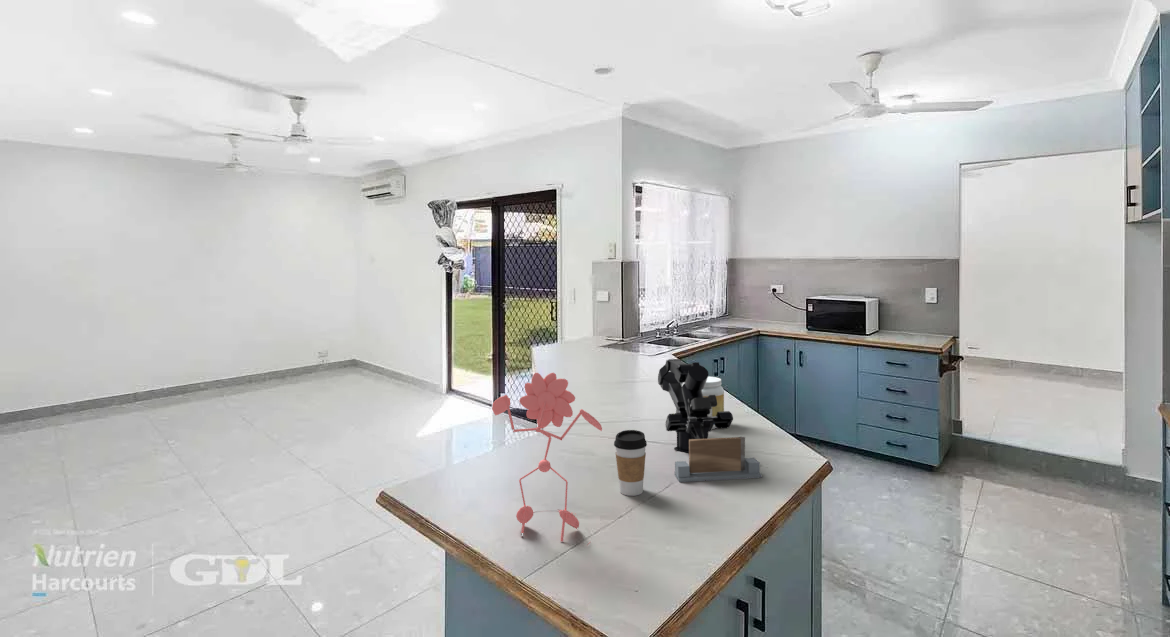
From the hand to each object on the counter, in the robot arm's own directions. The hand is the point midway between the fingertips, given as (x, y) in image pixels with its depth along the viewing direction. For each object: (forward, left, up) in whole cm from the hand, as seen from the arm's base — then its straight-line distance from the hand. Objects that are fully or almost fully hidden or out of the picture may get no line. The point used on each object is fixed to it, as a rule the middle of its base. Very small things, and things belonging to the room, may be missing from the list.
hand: (704, 448), depth 152 cm
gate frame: (+5, -2, -7) cm, 8 cm away
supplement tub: (-21, +40, -7) cm, 46 cm away
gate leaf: (+5, -2, -5) cm, 7 cm away
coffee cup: (-8, -24, -7) cm, 26 cm away
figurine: (-11, -50, -7) cm, 51 cm away
